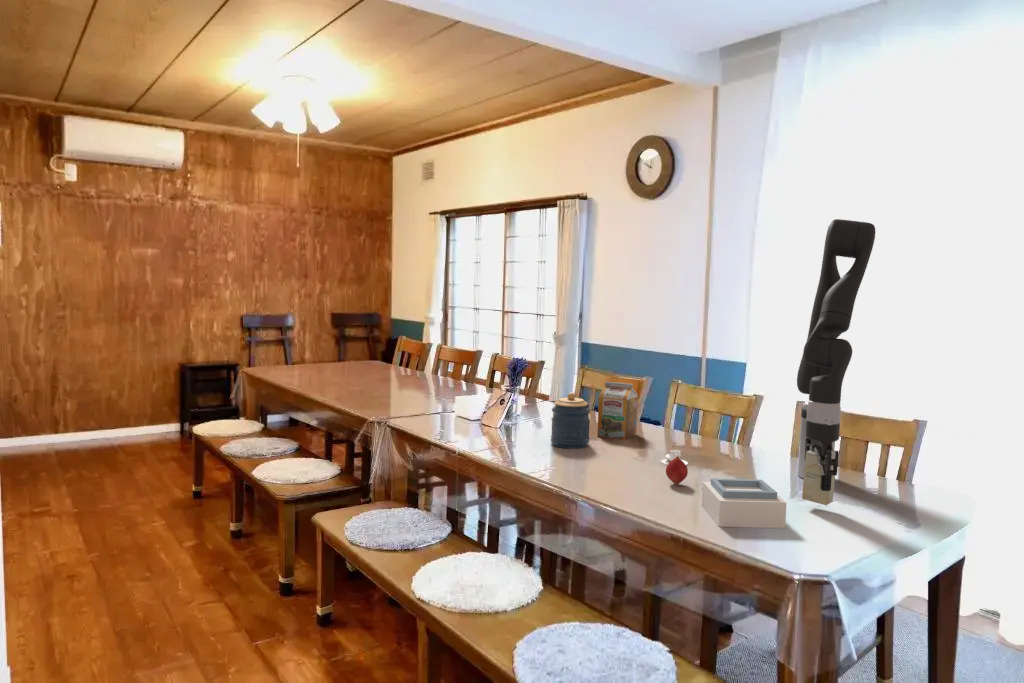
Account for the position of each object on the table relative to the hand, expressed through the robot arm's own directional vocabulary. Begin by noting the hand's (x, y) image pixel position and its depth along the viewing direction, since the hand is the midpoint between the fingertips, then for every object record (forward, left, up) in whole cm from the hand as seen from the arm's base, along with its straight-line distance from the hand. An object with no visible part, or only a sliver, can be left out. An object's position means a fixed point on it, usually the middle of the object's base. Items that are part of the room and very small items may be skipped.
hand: (818, 485), depth 171 cm
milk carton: (-79, -39, -6) cm, 88 cm away
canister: (-63, -57, -6) cm, 85 cm away
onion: (-19, -31, -6) cm, 36 cm away
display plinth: (+6, -21, -6) cm, 22 cm away
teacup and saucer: (-44, -23, -7) cm, 50 cm away
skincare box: (0, 0, -4) cm, 4 cm away
